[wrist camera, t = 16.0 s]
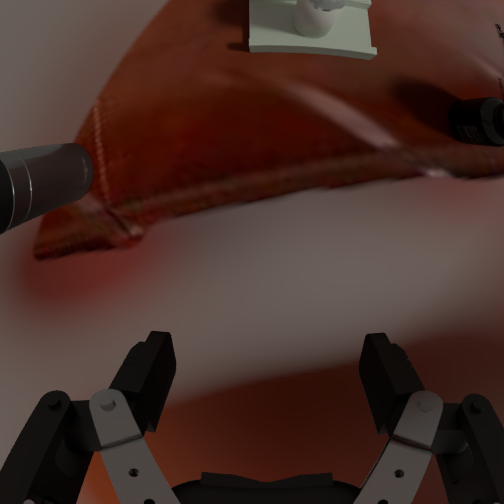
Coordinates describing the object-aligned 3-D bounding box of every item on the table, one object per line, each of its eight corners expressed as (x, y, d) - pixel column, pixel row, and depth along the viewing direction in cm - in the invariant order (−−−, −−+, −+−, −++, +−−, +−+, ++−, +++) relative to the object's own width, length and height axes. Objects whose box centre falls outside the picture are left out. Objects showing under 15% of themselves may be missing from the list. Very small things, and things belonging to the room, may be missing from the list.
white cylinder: (293, 37, 31) (301, 7, 21) (291, 7, 29) (298, -29, 20) (332, 40, 30) (351, 12, 21) (329, 10, 29) (346, -24, 19)
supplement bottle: (481, 142, 34) (532, 149, 23) (451, 145, 35) (502, 152, 24) (474, 100, 32) (524, 96, 20) (442, 100, 33) (492, 94, 21)
